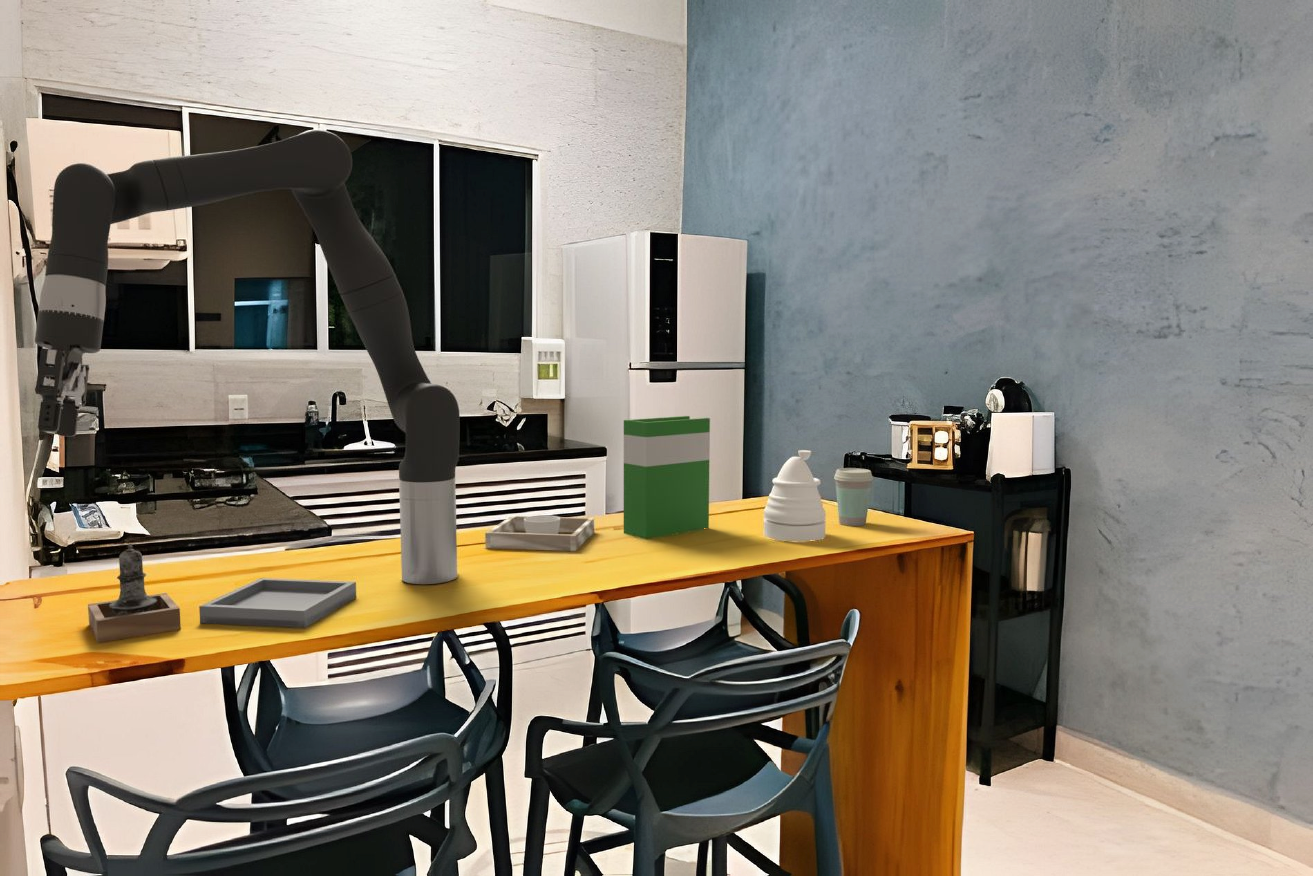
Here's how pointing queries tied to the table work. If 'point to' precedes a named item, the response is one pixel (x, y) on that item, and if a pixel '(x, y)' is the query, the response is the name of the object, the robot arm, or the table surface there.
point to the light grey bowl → (542, 524)
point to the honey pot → (795, 504)
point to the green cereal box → (666, 476)
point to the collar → (133, 620)
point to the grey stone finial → (132, 586)
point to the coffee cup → (853, 495)
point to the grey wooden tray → (539, 535)
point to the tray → (278, 603)
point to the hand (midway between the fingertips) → (57, 433)
